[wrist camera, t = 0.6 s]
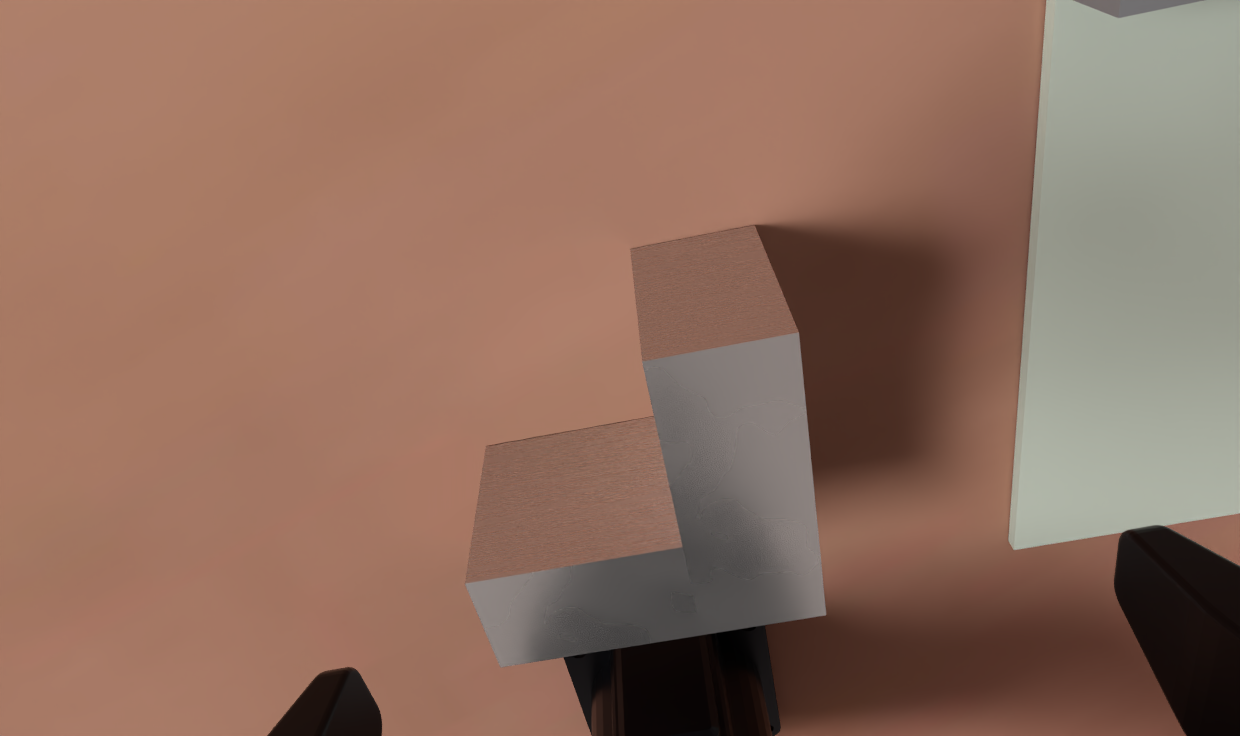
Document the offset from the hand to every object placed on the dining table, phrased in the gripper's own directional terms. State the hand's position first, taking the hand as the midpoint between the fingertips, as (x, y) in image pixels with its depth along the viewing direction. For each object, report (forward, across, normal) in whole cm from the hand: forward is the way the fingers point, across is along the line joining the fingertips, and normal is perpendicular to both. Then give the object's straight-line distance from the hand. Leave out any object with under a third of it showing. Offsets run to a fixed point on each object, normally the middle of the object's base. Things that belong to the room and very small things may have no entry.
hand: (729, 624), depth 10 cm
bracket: (+12, +2, +4) cm, 13 cm away
